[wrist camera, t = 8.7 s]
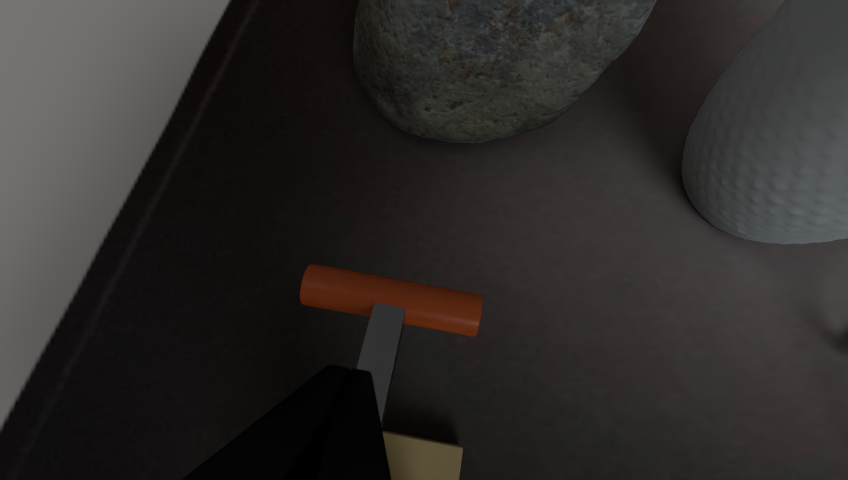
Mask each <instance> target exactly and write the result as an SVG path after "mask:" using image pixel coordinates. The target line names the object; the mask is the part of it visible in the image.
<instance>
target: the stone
mask: <svg viewBox="0 0 848 480" xmlns="http://www.w3.org/2000/svg"><path fill="white" fill-rule="evenodd" d="M655 3H656V0H359V1H358V5H357V10H356V16H355V26H354V37H353V63H354V68H355V73H356V78H357V80H358V82H359V83H360V85H361V87H362V88H363V90H364V92H365V93H366V95H367V96H368V98H369V99H370V101H371V102H372V104H373V105H374V107H375V109H376V110H377V112H378V113H379V114H380V115H381V116H382V117H383V118H384V119H385V120H386V121H388V122H389V123H390V124H391V125H392V126H394V127H396V128H398V129H399V130H402V131H404V132H406V133H409V134H412V135H415V136H419V137H423V138H430V139H435V140H440V141H444V142H452V143H473V144H475V143H477V142H486V141H490V140H494V139H499V138H507V137H510V136H513V135H519V134H521V133H524V132H527V131H529V130H533V129H537V128H541V127H543V126H545V125H547V124H549V123H551V122H553V121H555V120H556V119H557V118H558V117H559V116H561V115H562V114H563V113H564V112H565V111H567V110H568V109H569V108H570V107H571V106H572V105H573V104H574V103H575V101H576V100H577V99H578V98H579V97H580V96H581V95H582V94H583V93H584V92H585V91H586V90H587V89H588V88H589V87H590V86H591V85H592V84H593V83H594V82H595V81H596V80H597V79H598V78H599V77H600V75H601V74H602V73H603V72H604V71H605V69H606V68H607V67H608V66H609V65H610V64H611V63H612V62H613V61H614V60H616V59H617V58H618V57H619V56H620V55H621V54H622V53H623V52H624V51H625V50H626V49H627V48H628V47H629V45H630V44H631V43H632V41H633V40H634V39H635V38H636V36H637V35H638V34H639V33H640V31H641V29H642V27H643V26H644V24H645V22H646V20H647V18H648V17H649V15H650V13H651V11H652V9H653V7H654V5H655Z"/></svg>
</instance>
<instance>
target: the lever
mask: <svg viewBox="0 0 848 480" xmlns="http://www.w3.org/2000/svg"><path fill="white" fill-rule="evenodd" d="M300 301H301V303H302V304H303V305H307V306H312V307H318V308H323V309H328V310H334V311H339V312H344V313H350V314H355V315H360V316H366V317H369V321H368V324H367V328H366V332H365V336H364V339H363V343H362V347H361V350H360V354H359V358H358V361H357V365H356V369H361V370H367V371H370V372H371V374H372V377H373V383H374V388H375V394H376V399H377V404H378V410H379V415H380V421H381V426H382V427H383V423H384V418H385V413H386V408H387V403H388V399H389V394H390V389H391V384H392V379H393V375H394V370H395V365H396V360H397V355H398V351H399V346H400V341H401V336H402V331H403V327H404V324H408V325H414V326H419V327H424V328H430V329H435V330H440V331H446V332H451V333H456V334H462V335H467V336H472V337H475V336H476V334H477V332H478V328H479V324H480V319H481V313H482V302H483V300H482V295H479V294H474V293H468V292H463V291H458V290H452V289H447V288H441V287H436V286H431V285H425V284H420V283H415V282H409V281H404V280H398V279H393V278H388V277H382V276H377V275H371V274H366V273H361V272H355V271H350V270H344V269H339V268H334V267H328V266H323V265H317V264H310V265H309V266H308V267H307V269H306V271H305V273H304V276H303V279H302V283H301V289H300Z"/></svg>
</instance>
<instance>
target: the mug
mask: <svg viewBox="0 0 848 480" xmlns="http://www.w3.org/2000/svg"><path fill="white" fill-rule="evenodd" d="M681 171H682V181H683V185H684V189H685V191H686V194H687V196H688V198H689V199H690V201H691V203H692V204H693V206H694V207H695V208H696V210H697V211H698V212H699V213H700V214H701V215H702V216H703V217H704V218H705V219H706V220H707V221H708V222H709V223H711V224H712V225H714V226H715V227H717V228H718V229H720V230H722V231H724V232H726V233H728V234H731V235H733V236H736V237H739V238H743V239H747V240H752V241H757V242H766V243H776V244H782V245H787V244H807V243H812V242H829V241H833V240H837V239H848V0H786V1H785V2H784V3H783V4H782V5H781V6H779V7H778V9H777V10H776V11H775V13H774V14H773V15H772V16H771V17H770V18H769V20H768V21H767V22H766V23H765V24H764V25H762V26H761V28H760V29H759V30H758V31H757V32H756V33H755V34H754V36H753V37H752V38H751V40H750V41H749V42H748V43H747V45H746V46H745V47H744V48H742V49H741V50H740V51H739V53H738V54H737V55H736V56H735V57H734V59H733V61H732V63H731V64H730V65H729V66H728V67H727V69H726V70H725V71H724V72H723V73H722V74H721V75H720V78H719V79H718V80H717V82H716V84H715V86H714V87H713V88H712V89H711V90H710V92H709V93H708V94H707V96H706V99H705V101H704V103H703V104H702V106H701V107H700V108H699V110H698V113H697V114H696V117H695V120H694V121H693V123H692V124H691V127H690V128H689V134H688V136H687V138H686V140H685V147H684V149H683V157H682V167H681Z"/></svg>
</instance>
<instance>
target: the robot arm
mask: <svg viewBox="0 0 848 480" xmlns="http://www.w3.org/2000/svg"><path fill="white" fill-rule="evenodd" d="M182 480H391V475H390V469H389V464H388V458H387V453H386V448H385V442H384V437H383V431H382V426H381V421H380V415H379V410H378V404H377V399H376V394H375V388H374V383H373V377H372V374H371V372H370V371H367V370H361V369H356V368H353V369H351V370H350V369H349V368H348V367H346V366H340V365H335V364H330V365H328V366H326V367H325V368H324V369H323V370H321V371H320V372H319V373H317V374H316V375H315V376H314V377H312V378H311V379H310V380H309V381H307V382H306V383H305V384H303V385H302V386H301V387H300V388H298V389H297V390H296V391H294V392H293V393H292V394H291V395H289V396H288V397H287V398H286V399H284V400H283V401H282V402H280V403H279V404H278V405H277V406H275V407H274V408H273V409H271V410H270V411H269V412H268V413H266V414H265V415H264V416H263V417H261V418H260V419H259V420H257V421H256V422H255V423H254V424H252V425H251V426H250V427H249V428H247V429H246V430H245V431H243V432H242V433H241V434H240V435H238V436H237V437H236V438H234V439H233V440H232V441H231V442H229V443H228V444H227V445H226V446H224V447H223V448H222V449H220V450H219V451H218V452H217V453H215V454H214V455H213V456H211V457H210V458H209V459H208V460H206V461H205V462H204V463H203V464H201V465H200V466H199V467H197V468H196V469H195V470H194V471H192V472H191V473H190V474H188V475H187V476H186V477H185V478H183V479H182Z"/></svg>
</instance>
